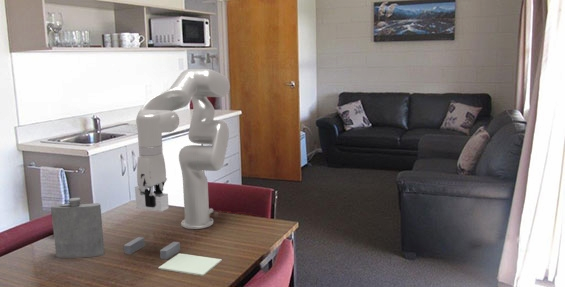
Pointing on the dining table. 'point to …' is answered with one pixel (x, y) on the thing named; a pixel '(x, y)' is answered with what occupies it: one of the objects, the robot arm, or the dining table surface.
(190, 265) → the mat
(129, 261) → the dining table surface
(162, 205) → the white pedestal stand
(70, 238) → the hip flask
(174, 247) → the vise jaws
